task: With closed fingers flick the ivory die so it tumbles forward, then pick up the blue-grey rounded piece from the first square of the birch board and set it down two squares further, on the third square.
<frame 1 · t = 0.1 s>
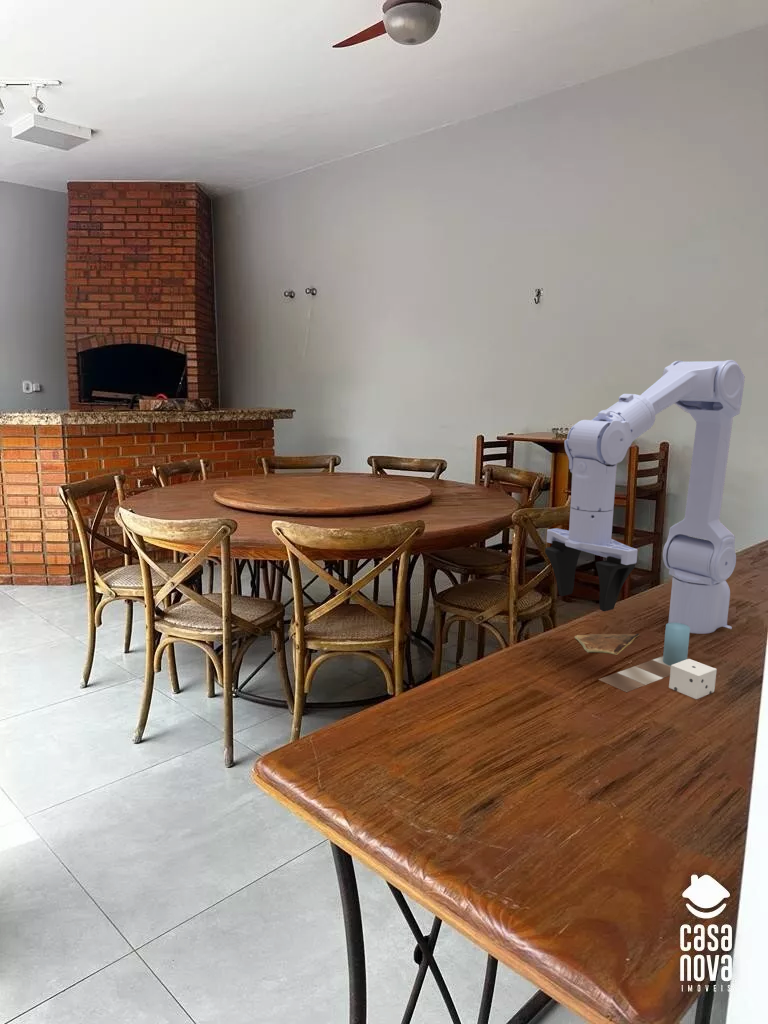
hand: (585, 601, 97), 10 cm above the table, fingers open, 7 cm apart
die: (690, 695, 91), on the table
shard: (601, 648, 108), on the table
board: (648, 676, 97), on the table
blue-grey rounded piece: (674, 662, 100), point 1 cm above the table, touching board
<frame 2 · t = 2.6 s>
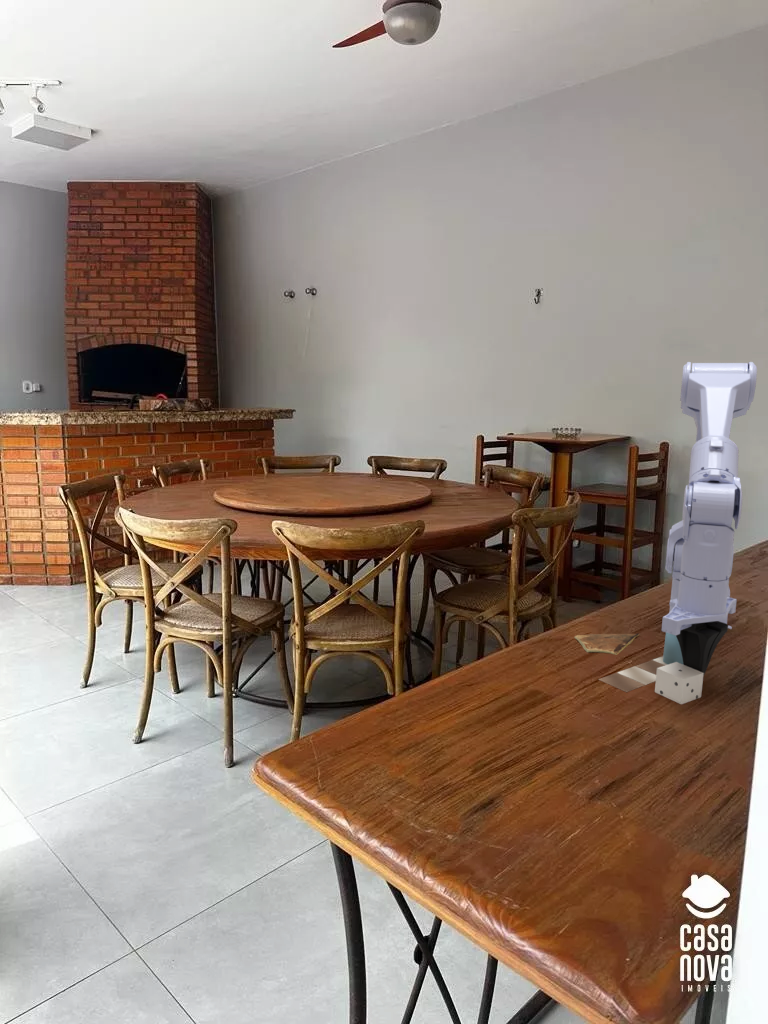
hand: (694, 673, 91), 3 cm above the table, fingers closed
die: (677, 699, 90), on the table, touching gripper
everything else where it was.
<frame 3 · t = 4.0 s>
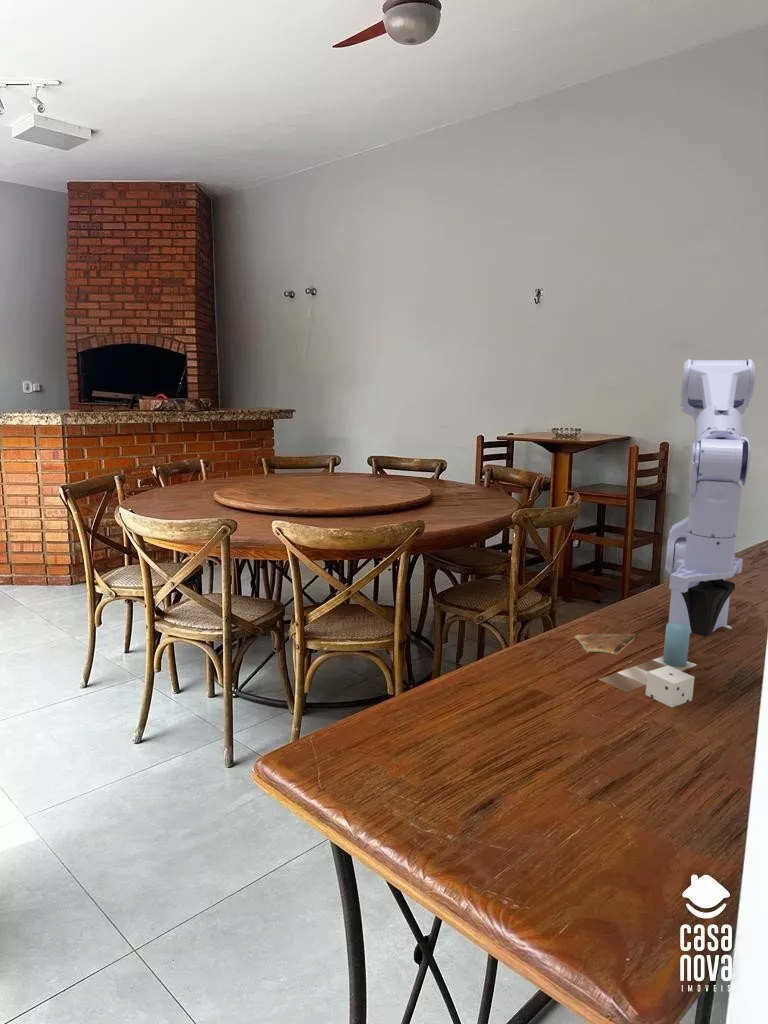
hand: (701, 633, 90), 8 cm above the table, fingers closed
die: (668, 703, 89), on the table
everything else where it was.
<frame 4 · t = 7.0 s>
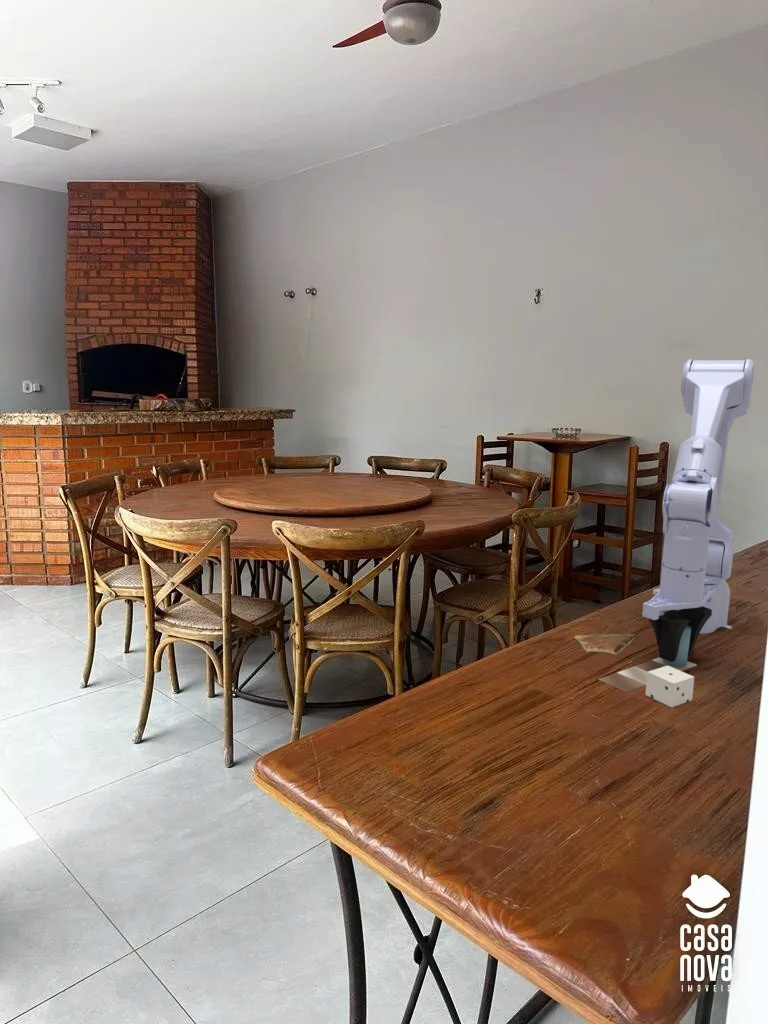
hand: (675, 656, 99), 2 cm above the table, fingers closed on blue-grey rounded piece, 3 cm apart
blue-grey rounded piece: (674, 662, 100), point 1 cm above the table, touching board, gripper
everything else where it was.
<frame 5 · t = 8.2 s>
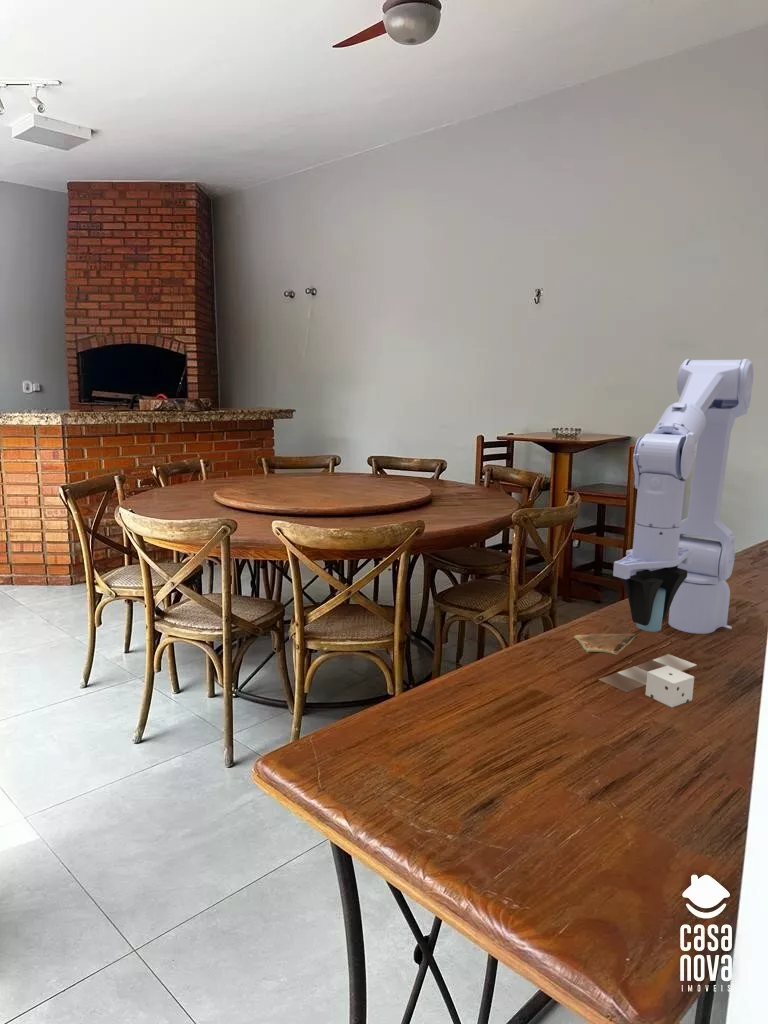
hand: (648, 620, 94), 9 cm above the table, fingers closed on blue-grey rounded piece, 3 cm apart
blue-grey rounded piece: (648, 627, 94), point 8 cm above the table, touching gripper
everything else where it was.
when the fingers open (2 cm above the table, at t = 9.7 s): blue-grey rounded piece stays where it is, resting on board.
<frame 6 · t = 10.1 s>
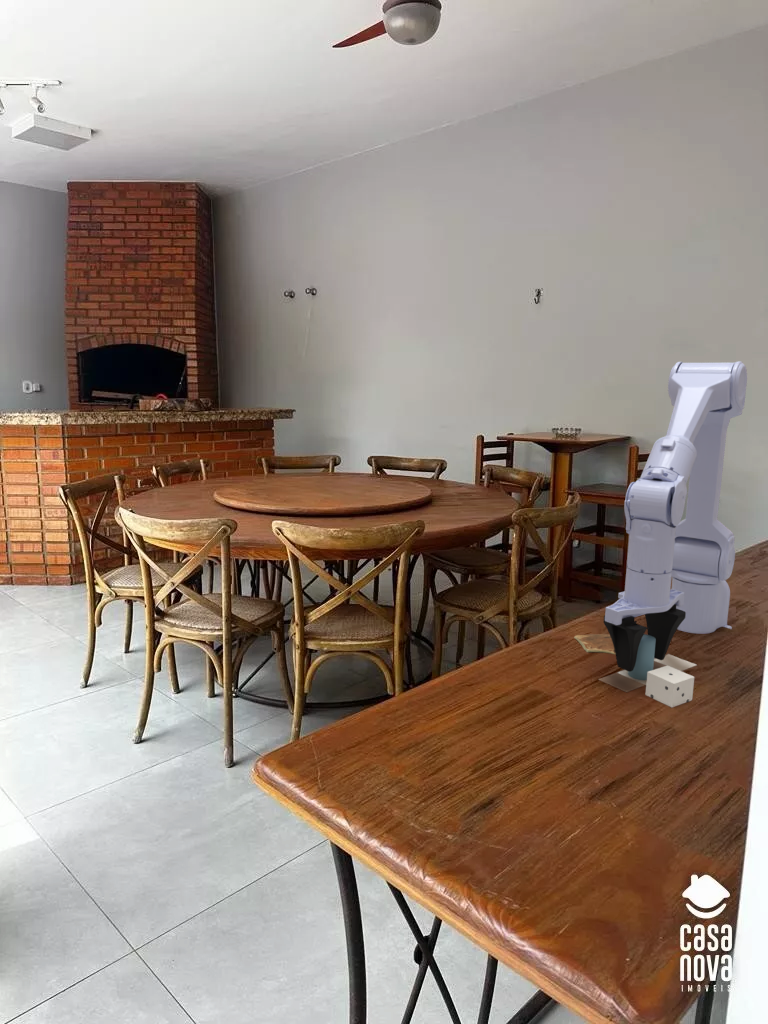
hand: (641, 663, 95), 3 cm above the table, fingers open, 6 cm apart
blue-grey rounded piece: (640, 675, 95), point 1 cm above the table, touching board
everything else where it was.
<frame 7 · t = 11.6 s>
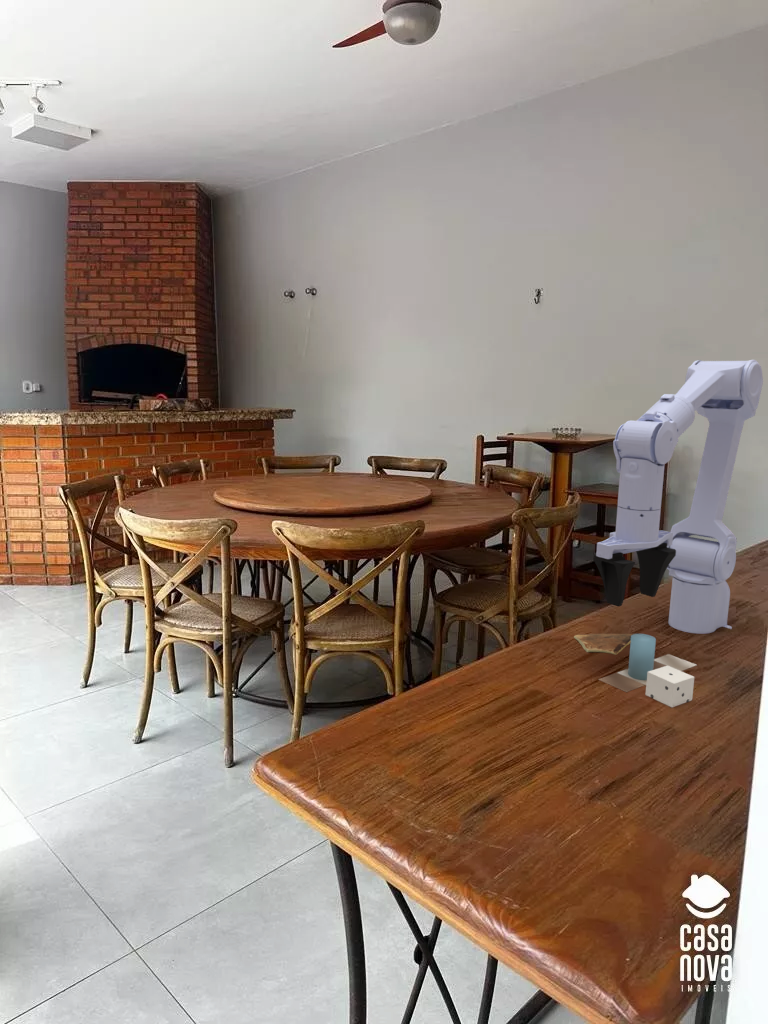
hand: (631, 599, 99), 10 cm above the table, fingers open, 7 cm apart
nothing on the table moved.
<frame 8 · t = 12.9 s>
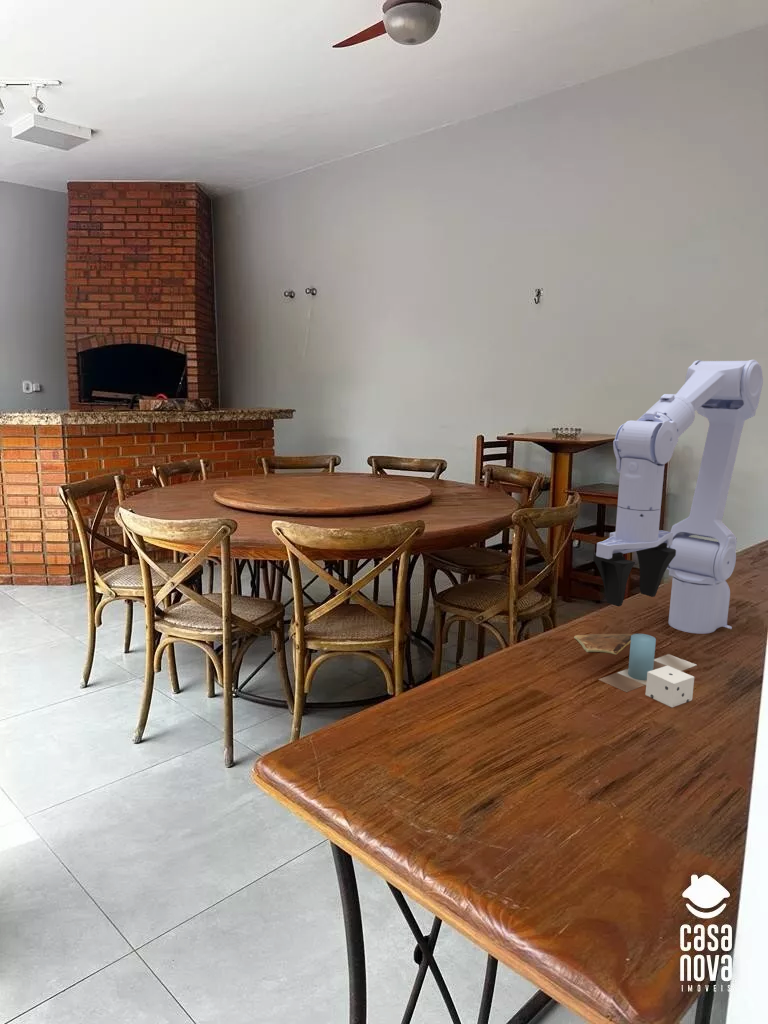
hand: (631, 599, 99), 10 cm above the table, fingers open, 7 cm apart
nothing on the table moved.
at the end: blue-grey rounded piece 0.0 cm from the target spot, point 0.7 cm above the table; blue-grey rounded piece tilted 0°; die moved 4.6 cm from its start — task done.
